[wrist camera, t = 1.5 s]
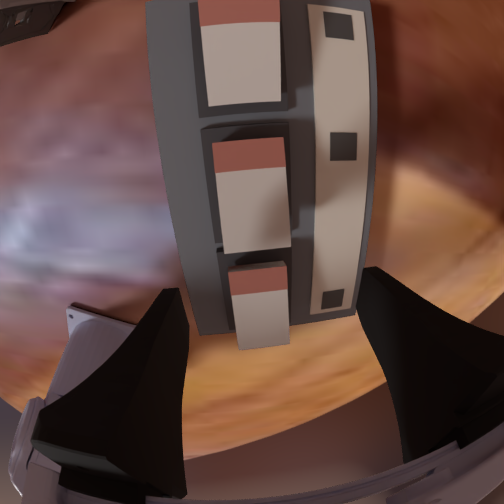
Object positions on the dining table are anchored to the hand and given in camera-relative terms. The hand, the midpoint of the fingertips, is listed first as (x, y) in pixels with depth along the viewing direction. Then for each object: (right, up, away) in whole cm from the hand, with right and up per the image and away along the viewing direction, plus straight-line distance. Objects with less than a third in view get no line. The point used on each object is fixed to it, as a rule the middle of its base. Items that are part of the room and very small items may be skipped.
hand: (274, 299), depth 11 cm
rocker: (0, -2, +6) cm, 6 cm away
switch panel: (0, +7, +7) cm, 10 cm away
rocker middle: (-1, +4, +3) cm, 5 cm away
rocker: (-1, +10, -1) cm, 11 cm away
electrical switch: (-17, +19, -2) cm, 26 cm away
